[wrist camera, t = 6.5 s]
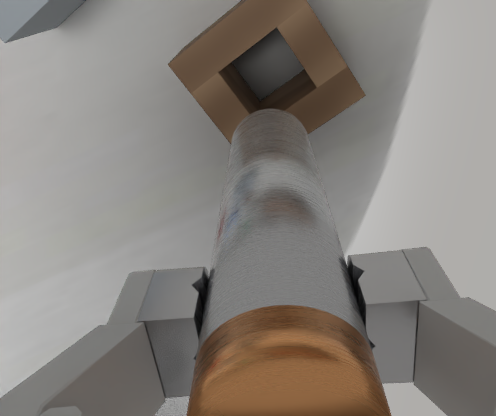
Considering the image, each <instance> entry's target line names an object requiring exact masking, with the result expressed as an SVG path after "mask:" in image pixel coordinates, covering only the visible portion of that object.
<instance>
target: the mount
mask: <svg viewBox="0 0 496 416" xmlns="http://www.w3.org/2000/svg"><path fill="white" fill-rule="evenodd" d="M276 27H277V28H278V30H279V31H280V33H281V34H282V36H283V37H284V39H285V40H286V42H287V43H288V45H289V46H290V48H291V49H292V51H293V52H294V54H295V55H296V57H297V58H298V60H299V61H300V63H301V64H302V66H303V67H304V70H303V71H302V72H300V73H299V74H298V75H296V76H295V77H293V78H292V79H291V80H289V81H288V82H287V83H285V84H284V85H282V86H281V87H280V88H278V89H277V90H275V91H274V92H273V93H271V94H270V95H269V96H267V97H266V98H264V99H263V100H262V101H259V100H258V98H257V97H256V96H255V94H254V93H253V92H252V90H251V89H250V87H249V86H248V85H247V83H246V82H245V81H244V79H243V78H242V77H241V75H240V74H239V72H238V71H237V70H236V68H235V67H234V66H233V64H232V63H231V62H232V61H233V60H235V59H236V58H237V57H239V56H240V55H241V54H243V53H244V52H245V51H246V50H248V49H249V48H250V47H252V46H253V45H254V44H255V43H257V42H258V41H259V40H261V39H262V38H263V37H265V36H266V35H267V34H268V33H270V32H271V31H272V30H274V29H275V28H276ZM168 65H169V67H170V68H171V69H172V70H173V72H174V73H175V74H176V76H177V77H178V78H179V79H180V81H181V82H182V83H183V84H184V86H185V87H186V88H187V89H188V91H189V92H190V93H191V94H192V96H193V97H194V98H195V99H196V101H197V102H198V103H199V105H200V106H201V107H202V108H203V110H204V111H205V112H206V113H207V115H208V116H209V117H210V118H211V120H212V121H213V122H214V123H215V125H216V126H217V127H218V128H219V130H220V131H221V132H222V134H223V135H224V136H225V137H226V139H227V140H228V141H229V142H230V144H231V142H232V137H233V134H234V131H235V130H236V128H237V126H238V125H239V123H240V122H241V121H242V120H243V119H244V118H246V117H247V116H248V115H250V114H252V113H254V112H256V111H259V110H263V109H279V110H283V111H286V112H288V113H290V114H292V115H293V116H295V117H296V118H297V119H298V120H299V121H300V122H301V123H302V124H303V126H304V127H305V129H306V131H307V134H309V133H311V132H312V131H314V130H315V129H317V128H318V127H320V126H321V125H323V124H324V123H326V122H327V121H329V120H330V119H332V118H333V117H335V116H336V115H338V114H339V113H340V112H342V111H343V110H345V109H346V108H348V107H349V106H351V105H352V104H354V103H355V102H357V101H358V100H360V99H361V98H363V97H364V96H366V95H365V93H364V92H363V90H362V88H361V87H360V85H359V84H358V82H357V80H356V79H355V77H354V76H353V74H352V72H351V71H350V69H349V68H348V66H347V64H346V63H345V61H344V60H343V58H342V56H341V55H340V53H339V52H338V50H337V48H336V47H335V45H334V44H333V42H332V40H331V39H330V37H329V36H328V34H327V32H326V31H325V29H324V28H323V26H322V24H321V23H320V21H319V20H318V18H317V16H316V15H315V13H314V12H313V10H312V8H311V7H310V5H309V4H308V2H307V0H242V1H240V2H239V3H238V4H237V5H235V6H234V7H233V8H232V9H231V10H229V11H228V12H227V13H226V14H224V15H223V16H222V17H221V18H220V19H218V20H217V21H216V22H215V23H213V24H212V25H211V26H210V27H208V28H207V29H206V30H205V31H204V32H202V33H201V34H200V35H199V36H197V37H196V38H195V39H194V40H193V41H191V42H190V43H189V44H188V45H186V46H185V47H184V48H183V49H182V50H181V51H180V52H179V53H178V54H177V55H176V56H175V57H174V58H173V60H172V61H171V62H170V63H169V64H168Z"/></svg>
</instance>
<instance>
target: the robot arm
mask: <svg viewBox="0 0 496 416" xmlns="http://www.w3.org/2000/svg"><path fill="white" fill-rule="evenodd" d="M347 268H348V271H349V275H350V278H351V282H352V285H353V288H354V292H355V295H356V298H357V302H358V305H359V308H360V312H361V315H362V319H363V322H364V325H365V329H366V332H367V335H368V339H369V342H370V345H371V349H372V352H373V356H374V359H375V362H376V366H377V369H378V372H379V376H380V379H381V382H382V383H406V382H414V385H415V386H416V387H417V388H418V389H419V390H420V391H421V392H423V393H424V394H425V395H426V396H427V397H428V398H429V399H430V400H431V401H432V402H433V403H435V405H437V406H438V407H439V408H440V409H441V410H442V411H443V412H444V413H445V414H446V415H447V416H496V311H494V310H493V309H491V308H489V307H487V306H485V305H483V304H481V303H479V302H477V301H475V300H473V299H471V298H469V297H468V298H460V296H459V294H458V293H457V291H456V290H455V288H454V286H453V285H452V283H451V282H450V280H449V279H448V277H447V275H446V274H445V272H444V271H443V269H442V267H441V266H440V264H439V263H438V261H437V259H436V258H435V256H434V255H433V253H432V252H431V250H430V249H429V248H427V247H421V248H412V249H403V250H399V251H388V252H378V253H369V254H359V255H349V256H348V262H347ZM208 282H209V276H208V271H207V269H206V268H205V267H195V268H179V269H163V270H157V271H156V270H148V271H137V272H132V273H130V274H129V275H128V277H127V279H126V282H125V284H124V286H123V288H122V291H121V293H120V295H119V298H118V300H117V302H116V304H115V307H114V309H113V311H112V314H111V316H110V318H109V320H108V323H107V325H99V326H98V327H96V328H95V329H94V330H92V331H91V332H90V333H88V334H87V335H85V336H84V337H83V338H81V339H80V340H79V341H77V342H76V343H75V344H73V345H72V346H71V347H69V348H68V349H66V350H65V351H64V352H62V353H61V354H60V355H58V356H57V357H56V358H54V359H53V360H52V361H50V362H49V363H47V364H46V365H45V366H43V367H42V368H41V369H39V370H38V371H37V372H35V373H34V374H32V375H31V376H30V377H28V378H27V379H26V380H24V381H23V382H22V383H20V384H19V385H18V386H16V387H15V388H13V389H12V390H11V391H9V392H8V393H7V394H5V395H4V396H3V397H1V398H0V416H154V415H155V413H156V412H157V411H158V410H159V408H160V407H161V406H162V405H163V403H164V402H165V401H166V400H165V398H171V397H182V396H190V392H191V386H192V380H193V374H194V368H195V362H196V355H197V349H198V343H199V337H200V331H201V325H202V319H203V313H204V307H205V300H206V294H207V288H208Z"/></svg>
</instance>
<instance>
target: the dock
mask: <svg viewBox="0 0 496 416" xmlns="http://www.w3.org/2000/svg"><path fill="white" fill-rule="evenodd" d="M85 1H86V0H0V39H1V40H2V41H3V42H4V43H7V42H10V41H14V40H17V39H20V38H24V37H27V36H30V35H34V34H37V33H40V32H44V31H47V30H50V29H54V28H57V27H58V26H59V25H60V24H61V23H62V22H63V21H64V20H65V19H66V18H67V17H68V16H70V15H71V14H72V13H73V12H74V11H75V10H76V9H77V8H78V7H79V6H80V5H81V4H82V3H84V2H85Z"/></svg>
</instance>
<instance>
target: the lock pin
mask: <svg viewBox="0 0 496 416" xmlns="http://www.w3.org/2000/svg"><path fill="white" fill-rule="evenodd" d="M187 416H391V413H390V409H389V406H388V403H387V399H386V396H385V393H384V389H383V386H382V382H381V379H380V376H379V372H378V369H377V366H376V362H375V359H374V356H373V352H372V349H371V345H370V342H369V339H368V335H367V332H366V329H365V325H364V322H363V319H362V315H361V312H360V308H359V305H358V302H357V298H356V295H355V292H354V288H353V285H352V282H351V278H350V275H349V271H348V268H347V265H346V262H345V258H344V255H343V251H342V248H341V245H340V241H339V238H338V235H337V231H336V228H335V224H334V221H333V218H332V214H331V211H330V208H329V204H328V201H327V198H326V194H325V191H324V187H323V184H322V181H321V177H320V174H319V171H318V167H317V164H316V161H315V157H314V154H313V150H312V147H311V144H310V140H309V137H308V134H307V131H306V129H305V127H304V126H303V124H302V123H301V122H300V121H299V120H298V119H297V118H296V117H295V116H293V115H292V114H290V113H288V112H286V111H283V110H279V109H263V110H259V111H256V112H254V113H252V114H250V115H248V116H247V117H246V118H244V119H243V120H242V121H241V122H240V123H239V125H238V126H237V128H236V130H235V131H234V134H233V137H232V142H231V148H230V154H229V160H228V166H227V172H226V178H225V184H224V190H223V197H222V203H221V209H220V215H219V221H218V227H217V233H216V239H215V245H214V252H213V258H212V264H211V270H210V276H209V282H208V288H207V294H206V300H205V307H204V313H203V319H202V325H201V331H200V337H199V343H198V349H197V355H196V362H195V368H194V374H193V380H192V386H191V392H190V398H189V404H188V410H187Z"/></svg>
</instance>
